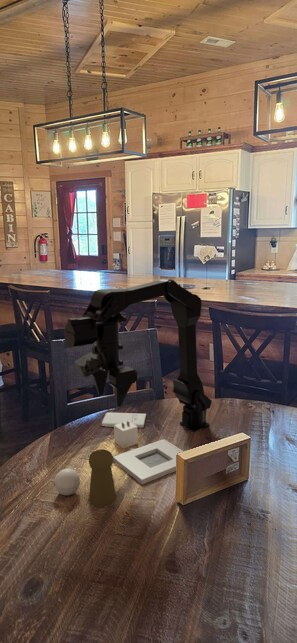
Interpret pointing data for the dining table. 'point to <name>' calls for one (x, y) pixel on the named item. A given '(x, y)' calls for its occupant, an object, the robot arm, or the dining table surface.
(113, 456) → the grey bar
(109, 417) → the external hard drive
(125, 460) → the outlet plate
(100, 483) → the olive pawn
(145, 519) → the dining table surface
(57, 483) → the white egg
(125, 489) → the dining table surface
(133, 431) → the charger brick
